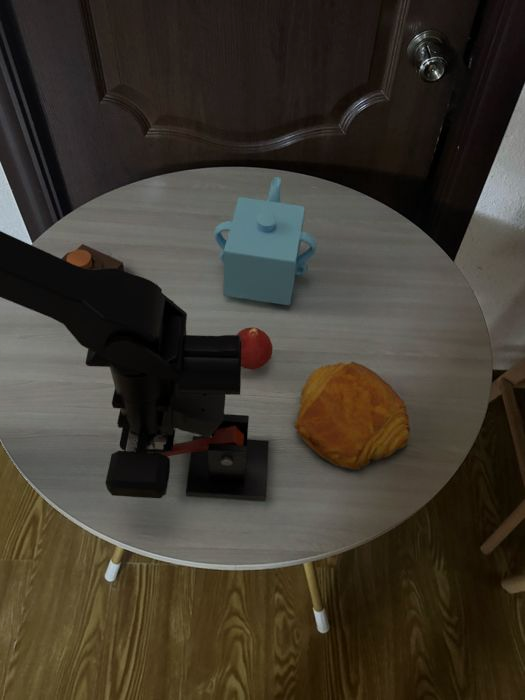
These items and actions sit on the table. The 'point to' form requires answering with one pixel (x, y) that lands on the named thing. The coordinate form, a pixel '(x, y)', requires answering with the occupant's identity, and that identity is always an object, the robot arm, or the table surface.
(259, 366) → the onion
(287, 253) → the teapot
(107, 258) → the button block
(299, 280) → the table surface
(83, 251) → the button
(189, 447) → the lever
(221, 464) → the bracket
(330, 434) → the croissant
